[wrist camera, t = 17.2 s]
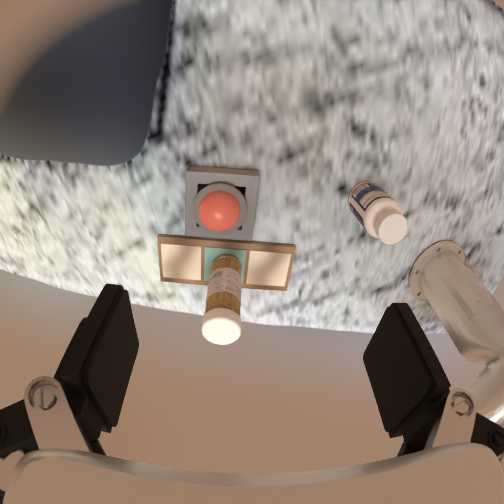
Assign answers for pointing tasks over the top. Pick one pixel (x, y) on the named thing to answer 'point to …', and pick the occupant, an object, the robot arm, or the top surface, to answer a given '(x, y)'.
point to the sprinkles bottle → (223, 301)
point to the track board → (208, 249)
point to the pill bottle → (378, 212)
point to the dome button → (220, 208)
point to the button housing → (228, 176)
